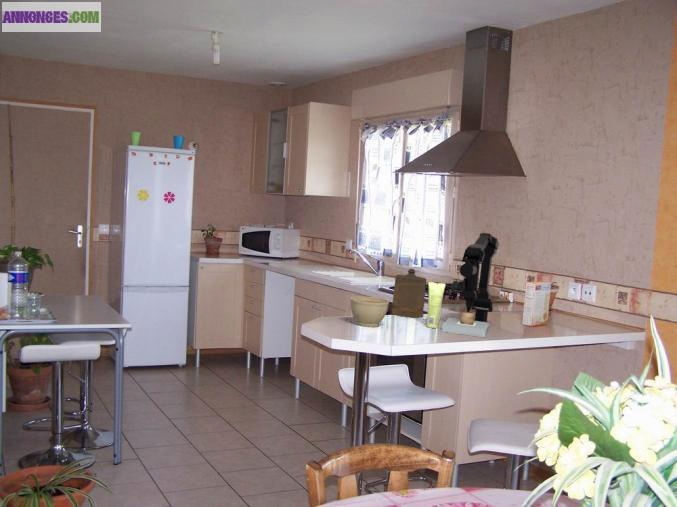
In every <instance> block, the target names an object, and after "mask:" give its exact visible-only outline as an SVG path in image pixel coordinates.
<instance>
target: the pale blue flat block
mask: <svg viewBox="0 0 677 507" xmlns="http://www.w3.org/2000/svg"><path fill="white" fill-rule="evenodd" d="M460 319H461V318H458V317H448V318H447V319H446V320H445V321H444V322H443V323H442V326H441V332H444V333H450V334H458V335H459V334H460V335H464V336H465V335H467V336H472V337H479V338H486V336H487V334H488V332H489V330H490V324H491V323H490V322H488V321H487V322H488V323H487V322H480V321H474V324H472V325H468V324H462V323H460Z"/></svg>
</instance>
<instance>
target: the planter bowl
mask: <svg viewBox="0 0 677 507" xmlns="http://www.w3.org/2000/svg"><path fill="white" fill-rule="evenodd" d="M389 305H390V301H389V300H387V299H384V298H380V297H379V298H378V297H373V296H352V297H350V309H351V310H350V311H351V313H352V316H353V318H354V320H355V322H356V325H358V326H361V327H366V328H369V327H370V328H376V327H379V326H380V323H381V322H382V321H383V320H384V319H385V316H386V315H387V312H388V308H389Z"/></svg>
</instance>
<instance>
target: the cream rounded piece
mask: <svg viewBox="0 0 677 507" xmlns="http://www.w3.org/2000/svg"><path fill="white" fill-rule="evenodd" d="M459 319H460V323H462V324H468V325H472V324H474V320H475V312H474V311H469V312H467V310H461V312H460V318H459Z"/></svg>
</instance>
